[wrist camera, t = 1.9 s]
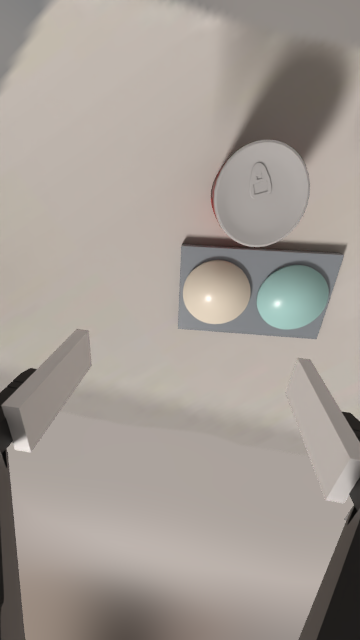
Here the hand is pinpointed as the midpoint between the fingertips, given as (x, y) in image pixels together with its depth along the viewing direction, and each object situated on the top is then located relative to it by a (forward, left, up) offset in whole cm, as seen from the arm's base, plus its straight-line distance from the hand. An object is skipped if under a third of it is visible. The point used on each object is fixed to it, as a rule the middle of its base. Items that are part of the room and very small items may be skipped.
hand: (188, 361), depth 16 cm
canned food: (+5, +9, -21) cm, 24 cm away
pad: (+13, -3, -20) cm, 24 cm away
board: (+8, -3, -21) cm, 23 cm away
